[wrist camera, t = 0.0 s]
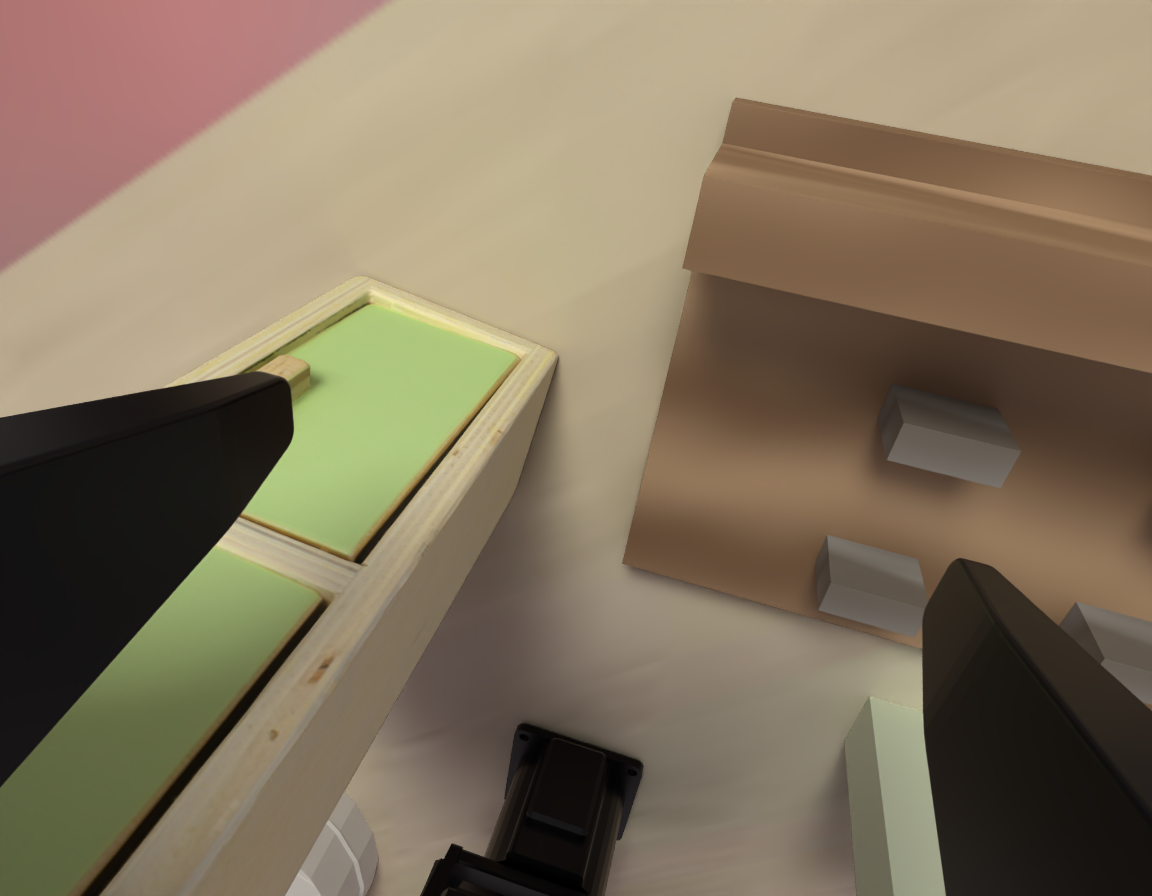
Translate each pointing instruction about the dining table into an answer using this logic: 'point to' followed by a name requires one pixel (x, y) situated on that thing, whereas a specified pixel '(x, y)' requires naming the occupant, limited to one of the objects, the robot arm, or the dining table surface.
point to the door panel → (892, 804)
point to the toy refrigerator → (287, 611)
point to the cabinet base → (910, 383)
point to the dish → (339, 856)
